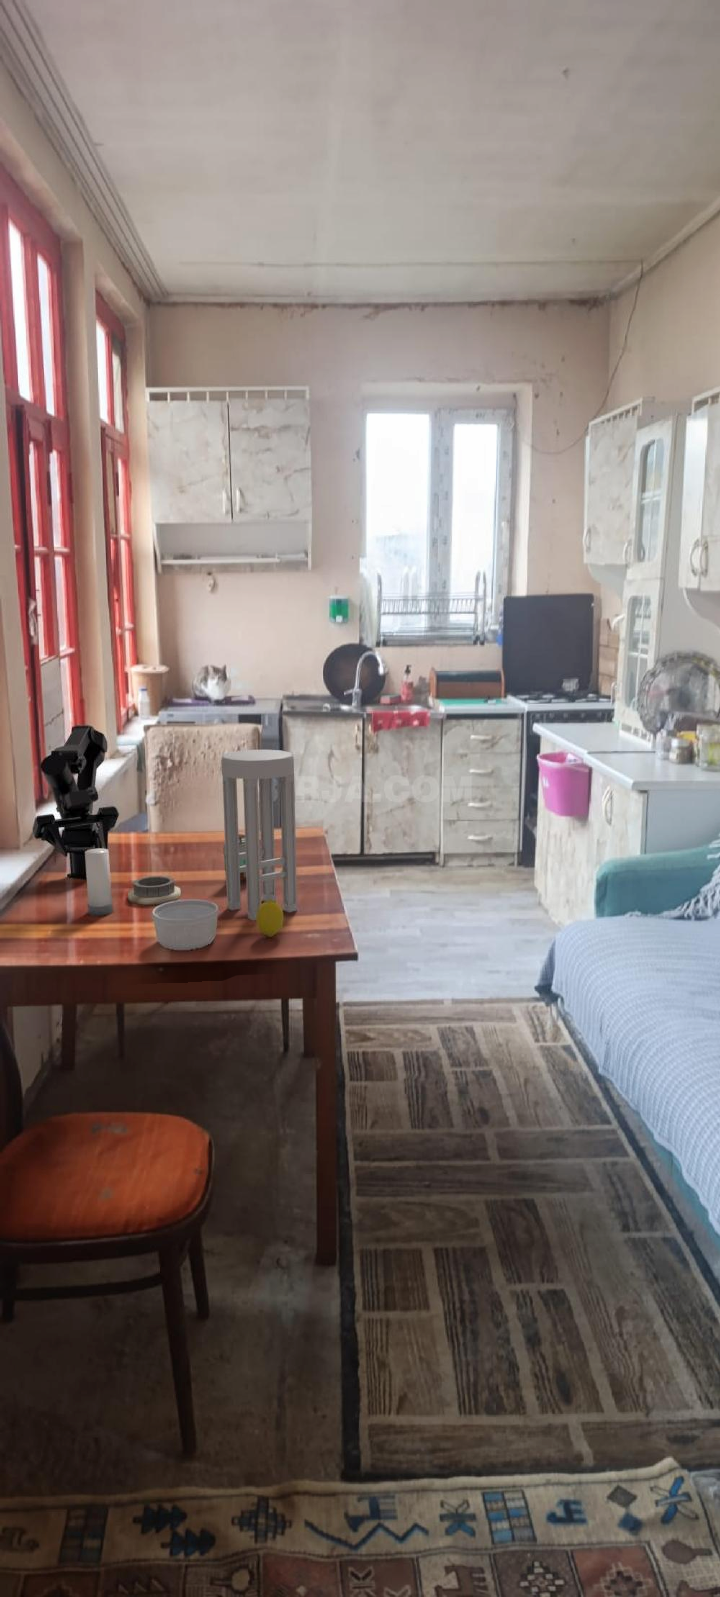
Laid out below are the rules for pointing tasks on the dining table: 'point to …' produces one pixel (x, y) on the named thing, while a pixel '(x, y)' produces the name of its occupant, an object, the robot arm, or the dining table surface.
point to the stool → (250, 770)
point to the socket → (154, 890)
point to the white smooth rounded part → (98, 882)
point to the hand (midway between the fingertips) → (86, 852)
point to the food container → (241, 861)
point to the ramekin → (185, 924)
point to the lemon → (269, 918)
